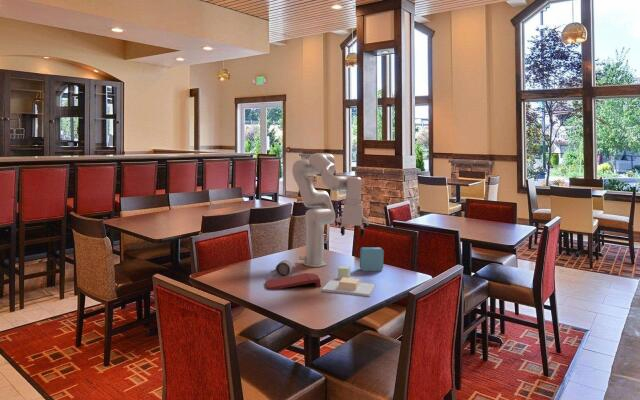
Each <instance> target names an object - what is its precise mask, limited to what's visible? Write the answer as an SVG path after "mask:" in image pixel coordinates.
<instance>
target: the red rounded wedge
mask: <svg viewBox="0 0 640 400" xmlns="http://www.w3.org/2000/svg"><path fill="white" fill-rule="evenodd" d="M312 283H314V285H315V287H316V288H320V287H321V286H322V283H321V279H320V277H319V275H318V274H316V273H311V272H310V273H309V272H307V273H305V272H304V273H299V274H294V275H288V276H287V277H278V278H277V277H276V278H270V279H267V280H266V281H265V286H266V287H265V288H266V289H267V290H270V291H272V290H273V291H274V290H279V289H280V290H281V289H285V288H290V287H296V286H302V285H305V284H306V285H307V284H312Z"/></svg>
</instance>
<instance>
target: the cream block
mask: <svg viewBox="0 0 640 400" xmlns="http://www.w3.org/2000/svg"><path fill="white" fill-rule="evenodd" d="M343 277H346V278H351V266H347V265H339V267H338V268H337V280H339V281H340V280H341V279H342V278H343Z"/></svg>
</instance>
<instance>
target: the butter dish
mask: <svg viewBox="0 0 640 400" xmlns="http://www.w3.org/2000/svg"><path fill="white" fill-rule="evenodd" d="M374 289H376V284H374V283H366V282H360V278H353V277H350V278H346V277H343V278H342V279H341V280H338V279H329V281H328V282H327V283H326V284H325V285H324V286H323V287H322V288H321V292H325V293H334V294H335V293H337V294H343V295H353V296H360V297H370V296H372V294H373V292H374Z"/></svg>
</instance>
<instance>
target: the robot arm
mask: <svg viewBox="0 0 640 400" xmlns="http://www.w3.org/2000/svg"><path fill="white" fill-rule="evenodd" d="M335 161H336V159H335V157H334V155H333V154H331V153H328V152H316V153H313V154H311V155H310V156H309V157H308V159H307V158H306V159H298V160H296V161H295V162H293V165H292V176H293V179H294V181H295V182H296V185H297V188H298V191H299V194H300V196H301V200H302V203H303V205H304V207H306V208H310V209H308V210H306V212H305V214H304V220H305V225H306V226H305V227H306V244H305V245H306V249H305V254H306V255H299V256H298V258H299V260H300V261H303V262H302V263H303V265H304V266H306V267H308V268H309V267H310V268H318V267H319V268H321V267H324V266H326V265H327V264H326V261H325V260H324V246H325V245H324V241H325V235H324V230H323V228H322V227H321V226H322V225H323V226H325V225H331V224H333V223H334V222H335V220H336V223H337V224H338V226H339V227H340V234H341V236H344V235H345V234H346V228H345V226H346V225H347V226H359V227H360V236H359V237H360V238H363V237H364V236H365V229H366V228H367V227H368V226H369V225H370V223H371V220H370V219H369V218H366V217H365V216H364V209H363V204H362V183H363V180H362V178H361V177H358V176H352V175H334V174H335V172H336V165H335V163H336V162H335ZM308 175H320V176H321V177H320V178H321V180H322V183H323V185H324V186H325V187H327V189H329V190H331V191H334V192H335V191H336V192H337V191H339V192H340V191H345V198H343V199H342V202H343V203H344V202H345V203H344V204H343V206H342V207H343V208H342V213H341V214H342V215H340V216H339V217H336V211H335V209H334V208H335V207H334V206H333V203H332V200H331V197H330V195H329V193H328V191H326V190H322V189H317V190H316V188H315V186H314V183H313V181H312V180H311V179H310V178H309V177H308ZM364 222H366V223H365V224H364Z"/></svg>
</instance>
